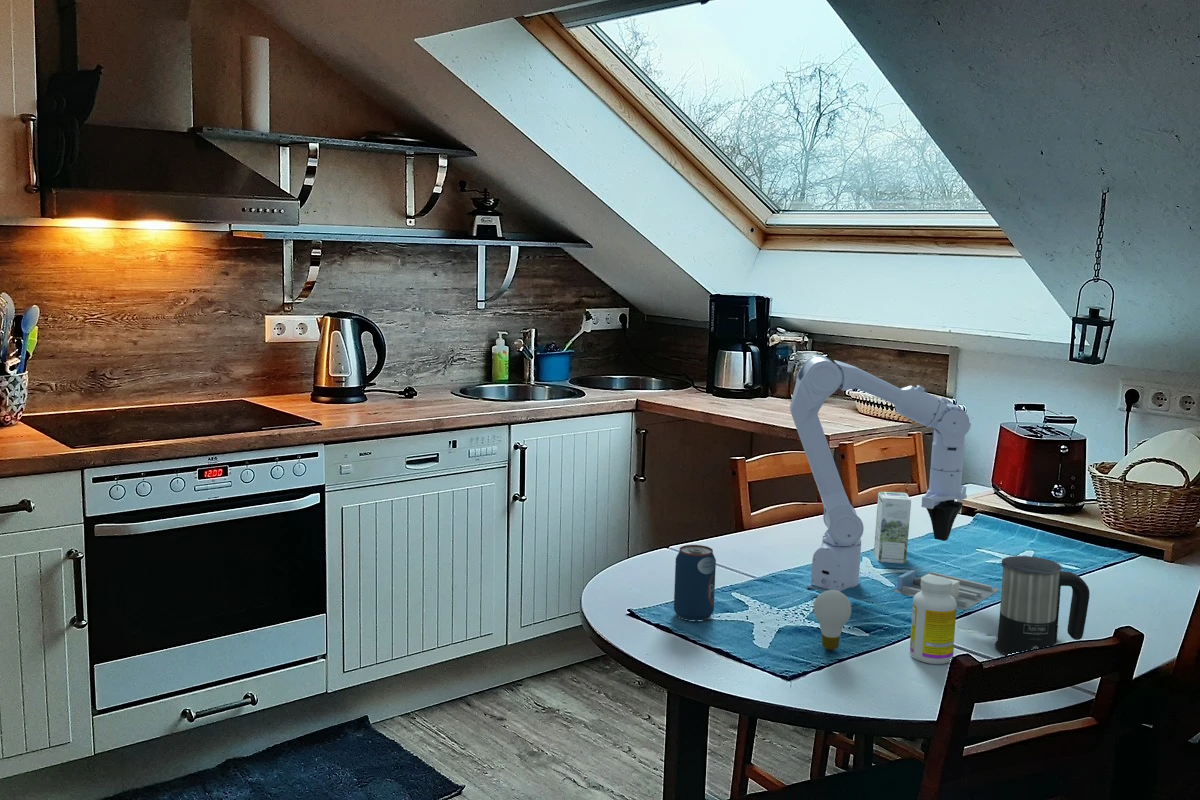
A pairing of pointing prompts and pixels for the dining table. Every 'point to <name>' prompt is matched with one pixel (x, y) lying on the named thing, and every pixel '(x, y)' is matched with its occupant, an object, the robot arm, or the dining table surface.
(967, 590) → the grey flat ridged plate
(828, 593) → the light bulb
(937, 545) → the dining table surface
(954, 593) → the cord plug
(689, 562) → the soda can
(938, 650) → the supplement bottle
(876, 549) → the syrup box
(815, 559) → the robot arm
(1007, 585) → the milk frother
